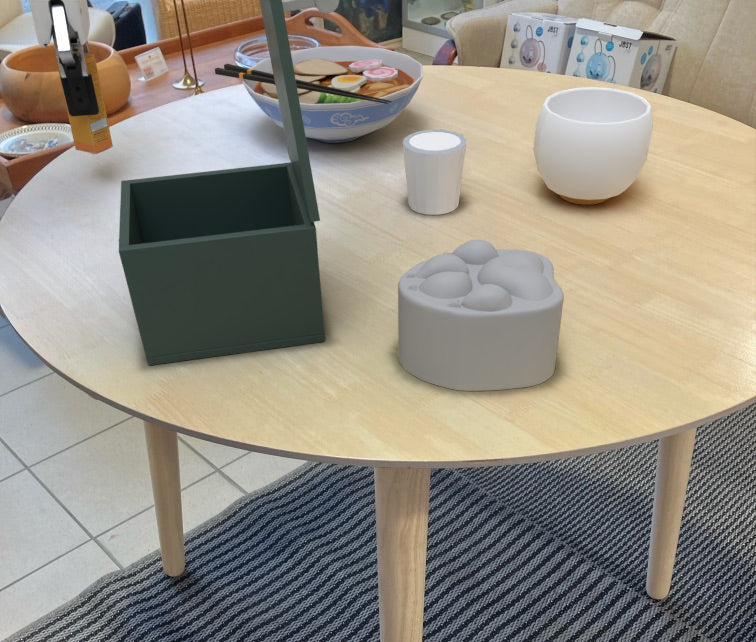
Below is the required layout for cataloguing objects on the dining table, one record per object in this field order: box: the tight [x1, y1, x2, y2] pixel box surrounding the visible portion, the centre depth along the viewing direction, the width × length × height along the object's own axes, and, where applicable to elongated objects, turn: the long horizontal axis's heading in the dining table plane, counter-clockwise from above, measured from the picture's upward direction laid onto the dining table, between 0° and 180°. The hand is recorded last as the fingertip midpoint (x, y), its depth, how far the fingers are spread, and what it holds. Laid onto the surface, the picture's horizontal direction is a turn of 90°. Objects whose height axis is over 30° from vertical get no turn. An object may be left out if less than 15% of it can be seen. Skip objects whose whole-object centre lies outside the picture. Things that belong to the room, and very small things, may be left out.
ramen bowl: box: [214, 45, 424, 144], centre depth 109 cm, size 25×23×8 cm
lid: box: [258, 0, 340, 223], centre depth 68 cm, size 16×14×5 cm
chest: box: [118, 161, 326, 366], centre depth 76 cm, size 16×14×11 cm
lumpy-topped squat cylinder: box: [397, 239, 565, 392], centre depth 71 cm, size 10×13×9 cm
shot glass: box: [402, 129, 468, 216], centre depth 93 cm, size 7×7×7 cm
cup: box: [532, 86, 654, 206], centre depth 93 cm, size 12×12×10 cm
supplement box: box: [54, 51, 114, 155], centre depth 96 cm, size 3×3×10 cm
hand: (85, 105), depth 96 cm, fingers closed on supplement box, 4 cm apart
